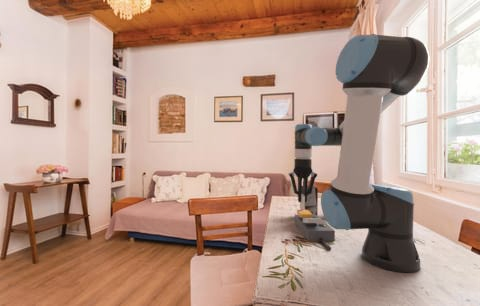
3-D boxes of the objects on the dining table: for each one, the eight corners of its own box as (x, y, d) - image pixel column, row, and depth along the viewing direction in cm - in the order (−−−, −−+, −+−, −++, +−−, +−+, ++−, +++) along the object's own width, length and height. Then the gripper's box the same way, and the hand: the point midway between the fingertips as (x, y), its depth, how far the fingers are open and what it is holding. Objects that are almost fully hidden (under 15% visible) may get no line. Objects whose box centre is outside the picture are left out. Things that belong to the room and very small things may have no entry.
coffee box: (318, 220, 112) (318, 187, 112) (304, 220, 112) (304, 187, 112) (312, 215, 121) (312, 185, 121) (300, 215, 121) (300, 185, 121)
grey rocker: (320, 223, 89) (320, 218, 90) (307, 222, 89) (307, 218, 90) (315, 222, 96) (314, 218, 96) (303, 222, 96) (302, 218, 96)
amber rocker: (312, 218, 99) (312, 214, 99) (300, 217, 99) (300, 214, 99) (307, 213, 106) (307, 209, 106) (297, 213, 106) (297, 209, 106)
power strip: (344, 250, 79) (344, 236, 79) (314, 250, 79) (314, 236, 79) (315, 223, 109) (315, 213, 109) (294, 222, 109) (294, 213, 109)
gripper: (314, 157, 109) (313, 206, 110) (287, 157, 109) (286, 206, 110) (320, 158, 102) (319, 211, 103) (290, 158, 102) (289, 211, 103)
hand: (302, 208), depth 107 cm, fingers closed
